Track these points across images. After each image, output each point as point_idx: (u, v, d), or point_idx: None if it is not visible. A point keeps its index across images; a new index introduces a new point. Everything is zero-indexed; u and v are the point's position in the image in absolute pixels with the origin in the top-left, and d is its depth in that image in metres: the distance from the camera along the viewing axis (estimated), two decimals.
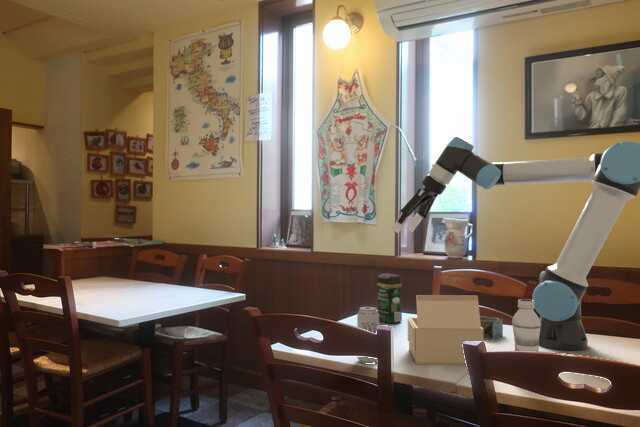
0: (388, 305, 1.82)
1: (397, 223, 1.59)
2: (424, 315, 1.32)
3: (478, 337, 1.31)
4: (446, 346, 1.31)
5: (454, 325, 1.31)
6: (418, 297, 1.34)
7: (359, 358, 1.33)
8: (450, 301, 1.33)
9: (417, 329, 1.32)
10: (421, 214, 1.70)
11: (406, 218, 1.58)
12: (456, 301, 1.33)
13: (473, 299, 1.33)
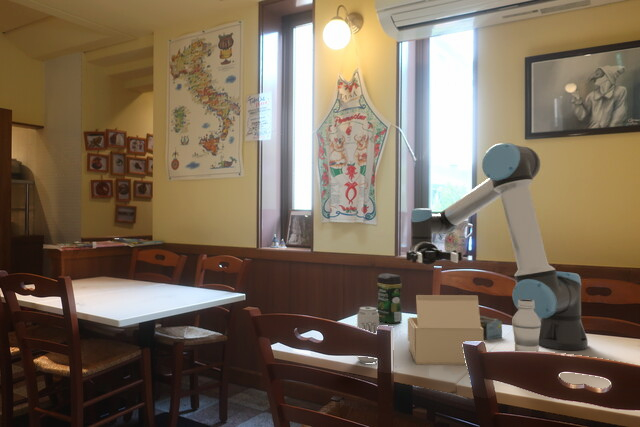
0: (388, 305, 1.82)
1: (418, 259, 1.48)
2: (424, 315, 1.32)
3: (478, 337, 1.31)
4: (446, 346, 1.31)
5: (454, 325, 1.31)
6: (418, 297, 1.34)
7: (359, 358, 1.33)
8: (450, 301, 1.33)
9: (417, 329, 1.32)
10: None
11: (416, 253, 1.51)
12: (456, 301, 1.33)
13: (473, 299, 1.33)
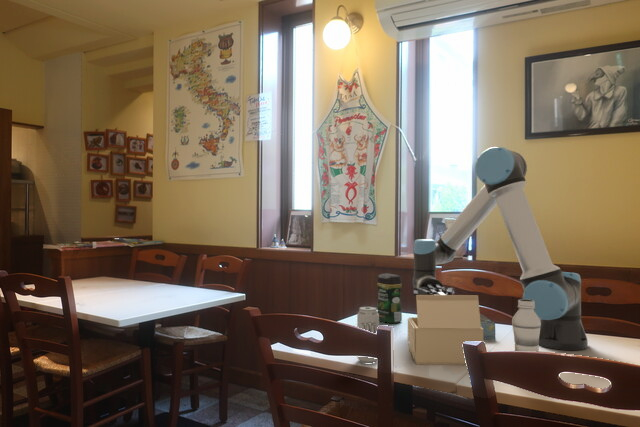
0: (388, 305, 1.82)
1: None
2: (424, 315, 1.32)
3: (478, 337, 1.31)
4: (446, 346, 1.31)
5: (454, 325, 1.31)
6: (418, 297, 1.34)
7: (359, 358, 1.33)
8: (450, 301, 1.33)
9: (417, 329, 1.32)
10: None
11: (437, 293, 1.40)
12: (456, 301, 1.33)
13: (473, 299, 1.33)
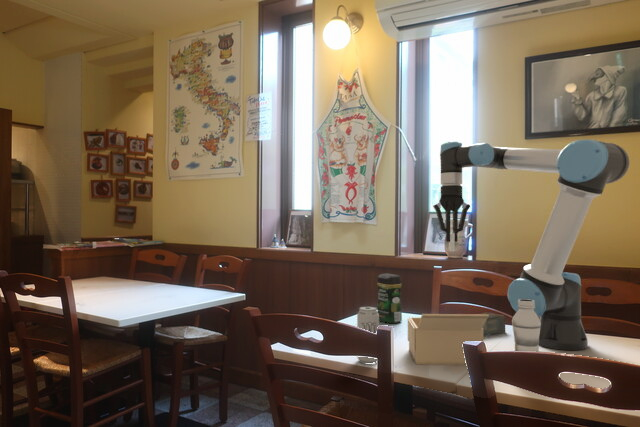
0: (388, 305, 1.82)
1: (449, 243, 1.73)
2: (426, 324, 1.29)
3: (478, 337, 1.31)
4: (446, 346, 1.31)
5: (454, 328, 1.30)
6: (423, 316, 1.25)
7: (359, 358, 1.33)
8: (457, 318, 1.25)
9: (417, 329, 1.32)
10: (453, 231, 1.72)
11: (450, 234, 1.71)
12: (464, 318, 1.25)
13: (482, 318, 1.24)
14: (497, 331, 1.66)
